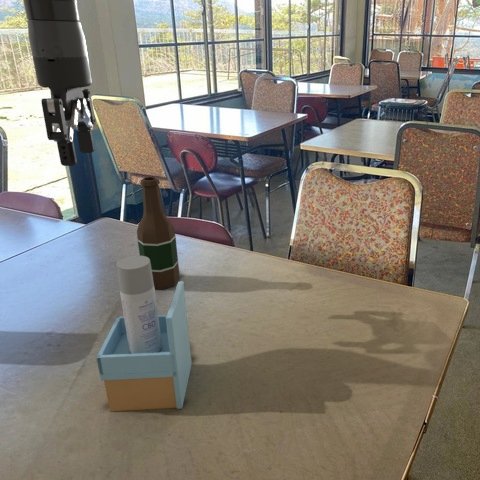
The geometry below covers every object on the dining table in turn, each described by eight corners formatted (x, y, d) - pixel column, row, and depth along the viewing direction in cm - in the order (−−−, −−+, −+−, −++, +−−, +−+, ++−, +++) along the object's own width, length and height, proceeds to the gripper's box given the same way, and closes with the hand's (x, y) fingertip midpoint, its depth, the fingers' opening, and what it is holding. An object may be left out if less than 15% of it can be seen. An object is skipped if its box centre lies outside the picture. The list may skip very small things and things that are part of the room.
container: (150, 362, 71) (137, 271, 65) (123, 356, 72) (107, 266, 66) (168, 344, 75) (157, 257, 69) (142, 338, 76) (129, 253, 70)
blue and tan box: (107, 413, 71) (88, 321, 64) (125, 367, 80) (111, 283, 74) (182, 409, 72) (171, 318, 65) (191, 364, 81) (183, 280, 75)
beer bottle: (179, 272, 112) (168, 172, 102) (181, 288, 105) (170, 182, 96) (143, 276, 110) (129, 174, 100) (143, 292, 103) (128, 185, 93)
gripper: (52, 51, 79) (70, 149, 85) (11, 55, 66) (36, 170, 72) (100, 52, 80) (114, 149, 86) (68, 56, 67) (88, 170, 73)
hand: (78, 158), depth 79 cm, fingers open, 8 cm apart
